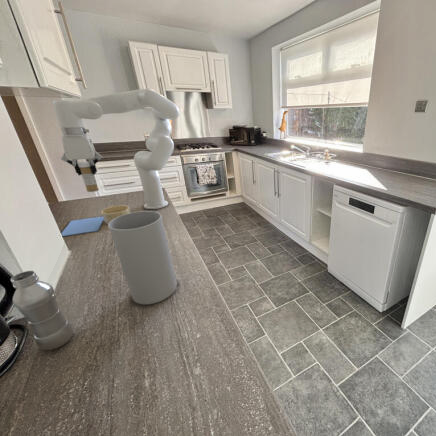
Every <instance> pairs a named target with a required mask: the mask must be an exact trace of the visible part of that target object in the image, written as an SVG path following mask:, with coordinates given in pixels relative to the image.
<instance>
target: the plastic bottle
mask: <svg viewBox="0 0 436 436" xmlns="http://www.w3.org/2000/svg"><path fill="white" fill-rule="evenodd" d="M10 282H11V284H12V286H13V288H14V289H15V291H14V293H13V296H12V305H13V306H14V307H15V308H16V309H17V310H18V311H19V312H20V314H22V316H23V317H24V319H25V320H26V321H27V322H28V324H29V326H30V328H31V330H32V333H33V336H34V341H35V344H36V345H37V346H38V347H39V348H40V349H41V350H43V351H52V350H56V349H59V348H61V347H62V346H64V345H65V344H66V343H68V342H69V341H70V340H71V338H72V336H73V334H74V329H73V328H74V327H73V324H72V323H71V322H70V321H69V320H68V319H67V318H66V316H65V315H64V314H63V311H61V309H60V307H59V303H58V301H57V297H56V292H55V289H54V286H52V285H51V284H50V283H48V282H46V281H42V280H40V278H39V276H38V275H37V273H36V271H35V270H25V271H22V272H19V273H17V274H15V275H14V276H12V277H11V278H10Z"/></svg>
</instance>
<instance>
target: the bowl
mask: <svg viewBox="0 0 436 436" xmlns="http://www.w3.org/2000/svg"><path fill="white" fill-rule="evenodd" d="M100 213H101V217H103V222H104V224H107V225H108V223H109V222H110V221H111V220H113V219H115V218H117V217H119V216H121V215H125V214H128V213H132V212H131V208H130V206H129V205H125V204H124V205H123V204H122V205H121V204H119V205H113V206H109V207H106V208H104V209H102V210H101V212H100Z"/></svg>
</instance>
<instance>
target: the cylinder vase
mask: <svg viewBox="0 0 436 436" xmlns="http://www.w3.org/2000/svg"><path fill="white" fill-rule="evenodd" d="M164 225H165V224H164V221H163V216H162V214H161V213H160V212H158V211H155V210H141V211H134V212H131V213H128V214H125V215H121V216H119V217H117V218H115V219H113V220H111V221H110V222H109V223H108V224H107V227H108V230H109V233H110V237H111V239H112V242H113V245H114V248H115V251H116V254H117V257H118V260H119V263H120V266H121V269H122V273H123V275H124V277H125V278H124V279H125V280H126V283H127V286H128V289H129V292H130V295H131V298H132V300H133V301H134V302H135V303H136V304H139V305H154V304H157V303H160V302H162V301H164V300H166V299H167V298H169V297H170V296H171V295H172V294H173V293H174V292H175V291H176V290H177V286H178V282H177V279H176V273H175V270H174V269H175V268H174V265H173V260H172V256H171V251H170V247H169V244H168V239H167V235H166V230H165V226H164Z"/></svg>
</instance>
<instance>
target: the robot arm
mask: <svg viewBox="0 0 436 436" xmlns="http://www.w3.org/2000/svg"><path fill="white" fill-rule="evenodd" d="M52 106H53V107H52V108H53V109H54V112H55V115H56V118H57V121H58V124H59V127H60V130H61V133H62V135H61V143H62V148H63V152H64V153H63V154H62V156H61V158H60V160H61V161H63V162H65V163H67V164H69V165H71V166H72V167H73V168H74V170H75V173H76V174H77V175H78V176H82V174H81V171H80V168H79V166H78V163H79V162H78V160H88V162H90V163H91V170H92V173H93V174H94V175H96V174H97V172H98V169H97V166H96V164H97V163H98V162H99V161H100V160H102V159H103V156H102V155H101V154H100V153H99V152H97V151H96V148H95V146H94V143H93V141H92V138H91V137H90V135H89V134H87V133H90V130H89V129H88V128H85V126H84V124H83V120H98V119H100V118H102V116H103V115H108V114H109V115H110V114H124V113H129V112H130V113H131V112H133V111H138V110H142V109H146V108H151V113H152V115H153V118H154V120H155V121H154V122H155V123H154V126H153V129H152V130H151V132H150V133H149V135H148V137H147V138H146V140H145V147H146V149H148V150H140V151H137V152H136V153H135V154H134V156H133V162H134V165H135V167H136V170H137V172H138V176H139V178H140V179H139V180H140V183H141V186H142V191H143V196H144V199H145V204H143V208H144V209H146V210H159V209H163V208H165V207H167V206H168V205H169V201H167V200H166V199H165V197H164V196H165V195H164V191H163V187H162V183H161V178H160V173H159V171H162V170H163V169H164V168H165V166H166V165H167V163H168V162H169V160H170V158H171V156H172V154H173V152H174V149H175V143H174V141H173V139H172V138H171V137H170V136H171V134H172V131H173V130H172V124H171V121H174V120H177V119H178V118H179V116H180V109H179V107H178V106H177V104H176V103H174V102H173V101H171V100H169V98H167V97H165V96H164V95H162V94H160V93H159V92H158V91H155V90H154V89H152V88H139V89H133V90H127V91H121V92H115V93H109V94H106V95H101V96H96V97H89V98H84V99H79V100H78V99H77V100H75V101H74V100H70V99H54V100H53V101H52ZM82 119H83V120H82ZM170 120H171V121H170ZM94 158H95V159H94Z"/></svg>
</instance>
